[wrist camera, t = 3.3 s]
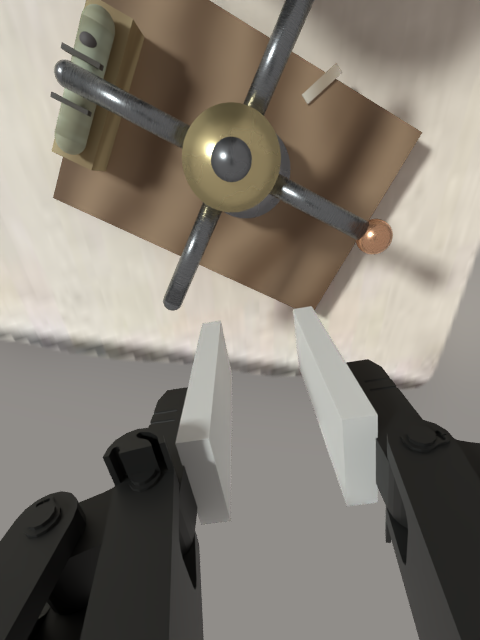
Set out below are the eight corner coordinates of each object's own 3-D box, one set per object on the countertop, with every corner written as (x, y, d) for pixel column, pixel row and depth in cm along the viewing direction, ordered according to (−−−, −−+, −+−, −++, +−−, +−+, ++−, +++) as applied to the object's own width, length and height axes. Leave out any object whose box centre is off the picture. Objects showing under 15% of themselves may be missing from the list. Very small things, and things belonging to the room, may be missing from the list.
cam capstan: (66, 230, 29) (-1, 250, 21) (149, -87, 21) (96, -254, 13) (294, 331, 34) (313, 381, 25) (433, 97, 26) (528, 58, 17)
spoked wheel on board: (64, 196, 30) (15, 201, 24) (127, -54, 24) (84, -147, 17) (306, 308, 35) (324, 338, 28) (415, 125, 28) (471, 109, 22)
